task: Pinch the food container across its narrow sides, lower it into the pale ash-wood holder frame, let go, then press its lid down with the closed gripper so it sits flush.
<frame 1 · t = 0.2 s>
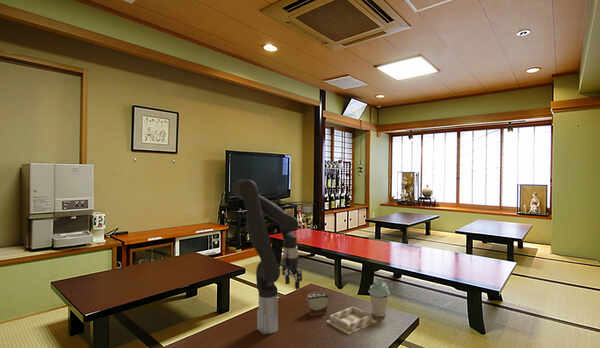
hand: (292, 286, 162), 18 cm above the table, tool pointing down, fingers open, 8 cm apart
ice cream cone: (378, 314, 168), on the table
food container: (316, 312, 172), on the table
holder: (351, 322, 159), on the table
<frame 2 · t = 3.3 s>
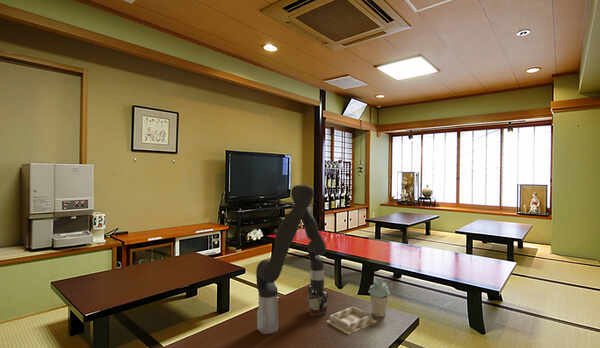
hand: (317, 307, 171), 2 cm above the table, tool pointing down, fingers closed on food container, 6 cm apart
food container: (316, 311, 172), on the table, touching gripper
everything else where it was.
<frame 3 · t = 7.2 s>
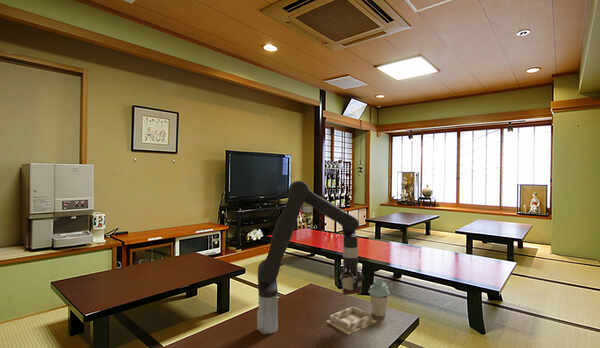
hand: (350, 288, 159), 17 cm above the table, tool pointing down, fingers closed on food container, 6 cm apart
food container: (349, 292, 160), point 15 cm above the table, touching gripper
everything else where it was.
when the fingers open (3 cm above the table, at t = 10.6 s): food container stays where it is, resting on holder.
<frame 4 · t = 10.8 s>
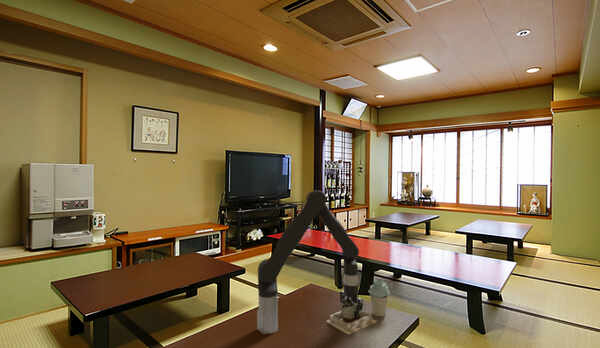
hand: (351, 314, 159), 4 cm above the table, tool pointing down, fingers open, 6 cm apart
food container: (349, 319, 160), point 1 cm above the table, touching gripper, holder
everything else where it was.
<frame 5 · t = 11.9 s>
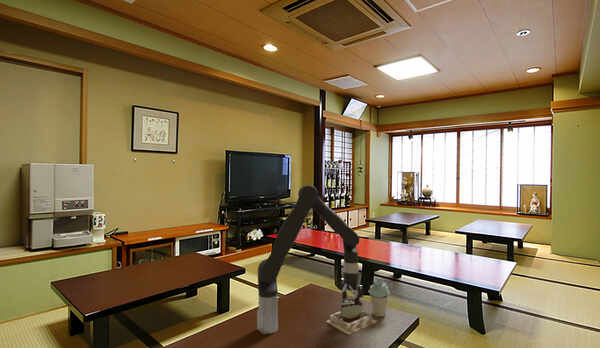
hand: (350, 302, 159), 10 cm above the table, tool pointing down, fingers open, 8 cm apart
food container: (349, 319, 161), resting on holder
everything else where it was.
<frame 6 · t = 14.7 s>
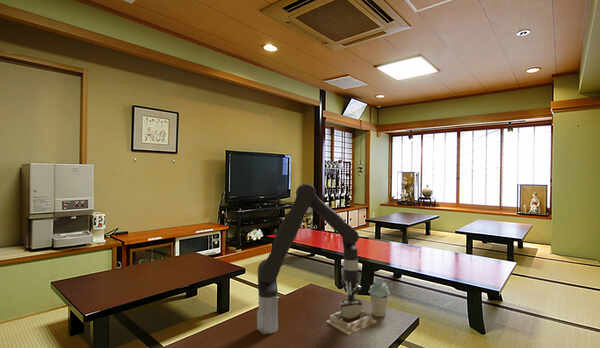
hand: (351, 301, 159), 11 cm above the table, tool pointing down, fingers closed
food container: (349, 320, 161), resting on holder, touching gripper
everything else where it was.
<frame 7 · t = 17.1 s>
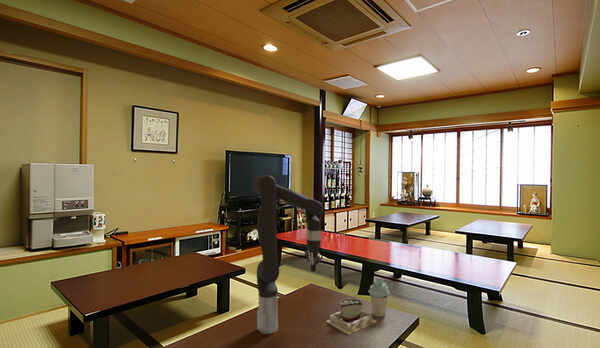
hand: (313, 271, 166), 24 cm above the table, tool pointing down, fingers closed
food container: (349, 320, 161), resting on holder
everything else where it was.
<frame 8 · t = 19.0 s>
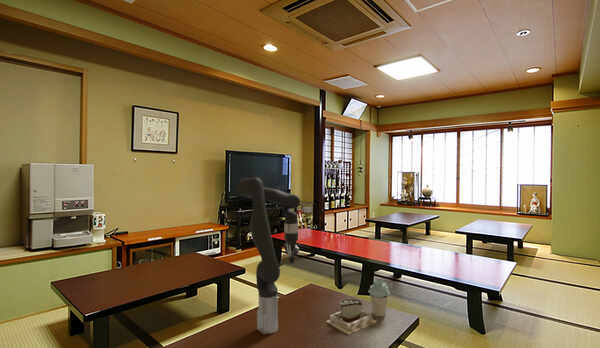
hand: (291, 262, 171), 27 cm above the table, tool pointing down, fingers closed
nothing on the table moved.
at the end: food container 1.6 cm off-centre on the holder, point 0.3 cm above the holder's base; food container tilted 0°; the gripper is holding nothing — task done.
